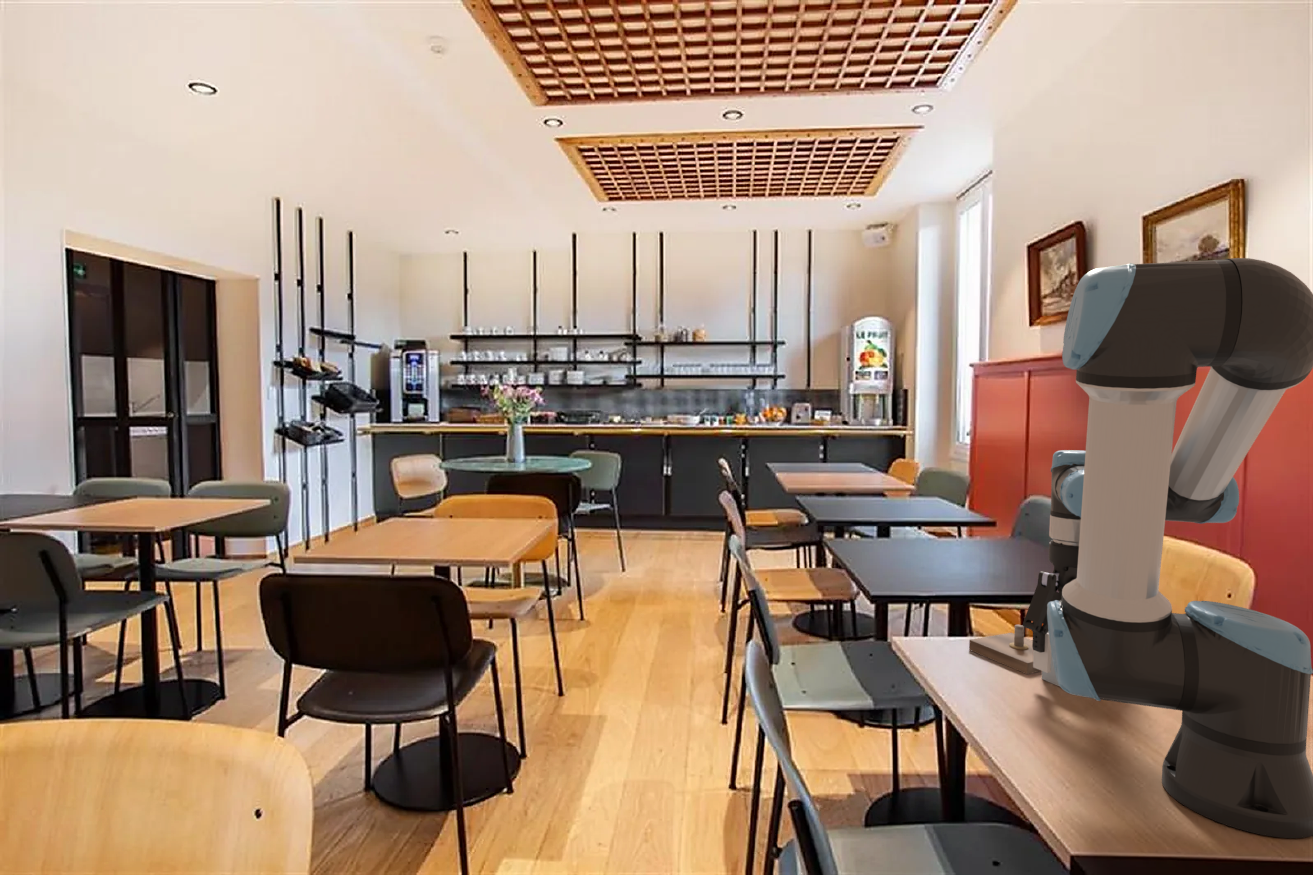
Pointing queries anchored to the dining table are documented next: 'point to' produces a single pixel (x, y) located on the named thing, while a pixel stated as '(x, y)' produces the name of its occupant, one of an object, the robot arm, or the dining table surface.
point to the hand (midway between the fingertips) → (1070, 664)
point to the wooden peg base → (1007, 649)
